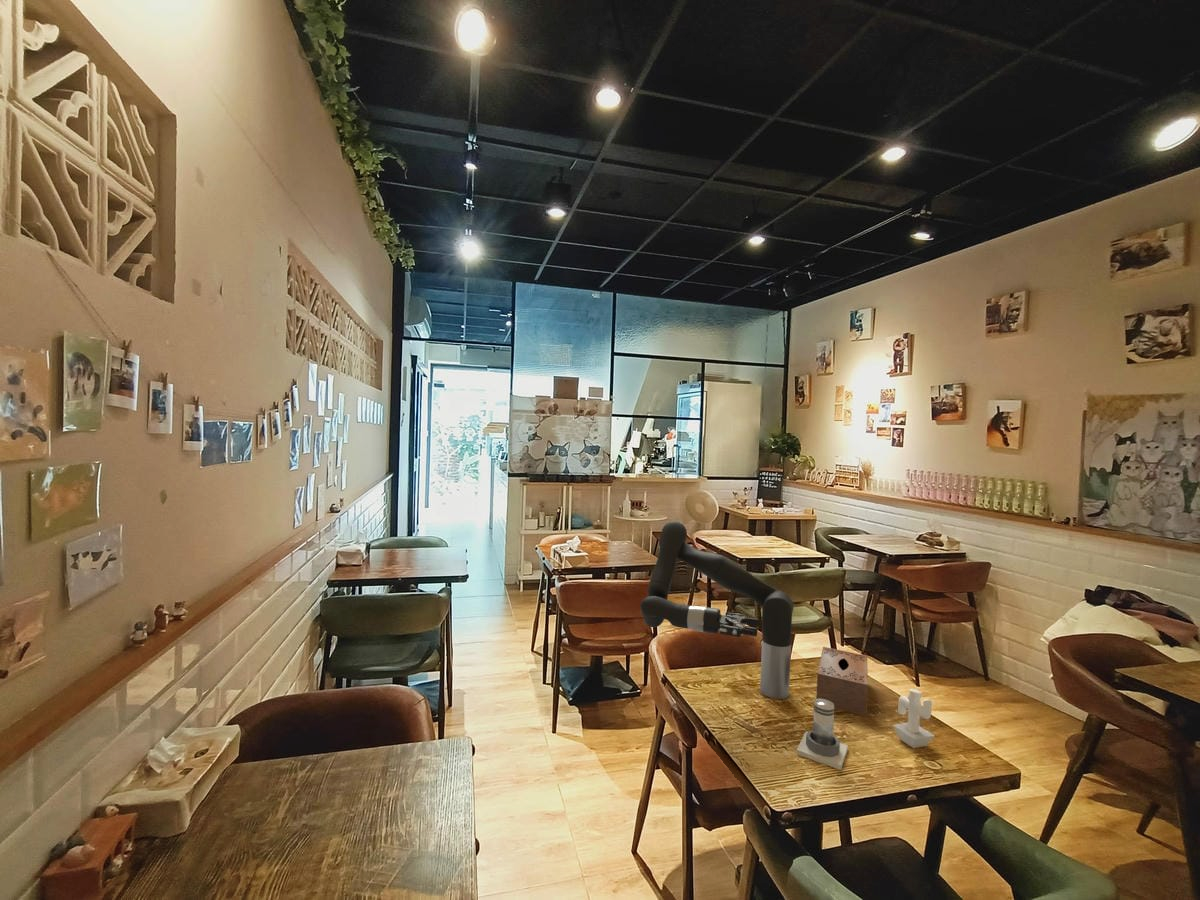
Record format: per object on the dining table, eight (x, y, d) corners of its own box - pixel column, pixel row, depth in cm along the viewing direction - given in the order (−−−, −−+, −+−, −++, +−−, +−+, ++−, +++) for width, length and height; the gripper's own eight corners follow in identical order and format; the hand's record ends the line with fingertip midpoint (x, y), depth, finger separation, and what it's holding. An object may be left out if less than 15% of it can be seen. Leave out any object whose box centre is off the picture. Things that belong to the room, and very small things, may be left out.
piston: (814, 739, 143) (816, 696, 143) (834, 746, 140) (835, 702, 140) (810, 748, 139) (812, 703, 139) (830, 755, 136) (832, 709, 136)
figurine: (908, 732, 151) (910, 681, 151) (937, 750, 142) (940, 697, 142) (888, 735, 149) (891, 684, 149) (917, 754, 140) (920, 699, 140)
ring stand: (805, 735, 147) (806, 722, 147) (847, 749, 141) (848, 736, 141) (796, 754, 138) (796, 740, 138) (840, 770, 132) (841, 755, 132)
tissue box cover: (821, 673, 189) (823, 646, 189) (865, 683, 183) (867, 655, 182) (816, 704, 166) (817, 673, 166) (866, 716, 160) (867, 684, 160)
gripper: (707, 624, 167) (759, 632, 161) (699, 639, 153) (755, 648, 147) (707, 601, 166) (760, 608, 161) (700, 614, 153) (756, 622, 147)
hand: (758, 627), depth 154 cm, fingers open, 8 cm apart
